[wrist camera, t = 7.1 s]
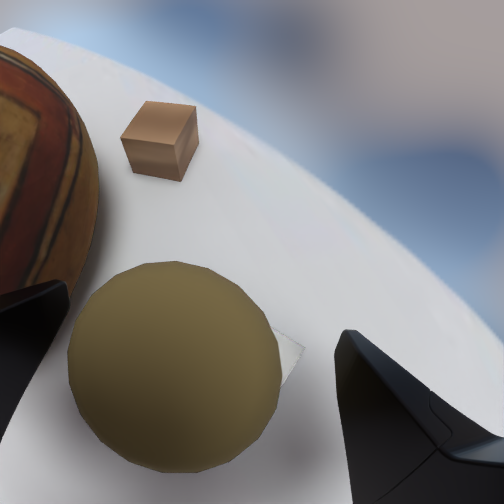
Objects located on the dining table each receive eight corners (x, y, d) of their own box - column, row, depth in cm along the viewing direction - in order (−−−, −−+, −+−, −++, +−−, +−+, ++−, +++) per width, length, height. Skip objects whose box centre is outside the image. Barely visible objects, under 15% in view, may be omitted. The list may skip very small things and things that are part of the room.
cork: (154, 312, 16) (57, 216, 6) (260, 320, 16) (315, 230, 6) (146, 415, 14) (28, 466, 3) (256, 425, 14) (310, 513, 4)
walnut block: (181, 182, 21) (173, 144, 17) (133, 173, 21) (120, 137, 17) (199, 144, 22) (195, 106, 19) (154, 137, 22) (146, 100, 19)
